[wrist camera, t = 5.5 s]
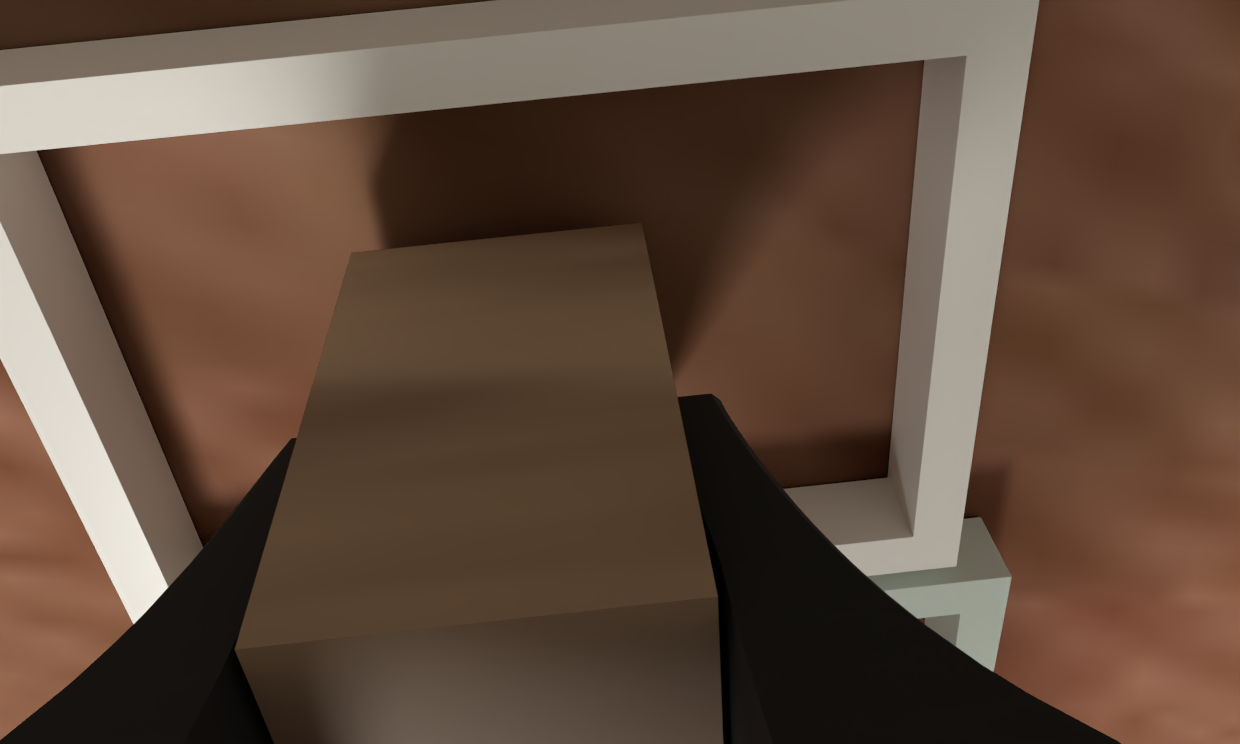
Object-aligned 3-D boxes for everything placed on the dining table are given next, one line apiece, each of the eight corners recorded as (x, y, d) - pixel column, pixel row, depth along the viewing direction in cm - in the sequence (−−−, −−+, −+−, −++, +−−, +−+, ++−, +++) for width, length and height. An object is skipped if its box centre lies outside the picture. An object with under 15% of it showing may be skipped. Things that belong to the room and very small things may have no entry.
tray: (928, 506, 19) (956, 565, 18) (173, 589, 19) (148, 655, 18) (995, -51, 14) (1041, -19, 12) (-69, 56, 13) (-130, 99, 12)
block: (658, 450, 17) (728, 866, 11) (407, 476, 17) (344, 910, 11) (641, 222, 15) (717, 596, 9) (352, 252, 14) (234, 649, 9)
